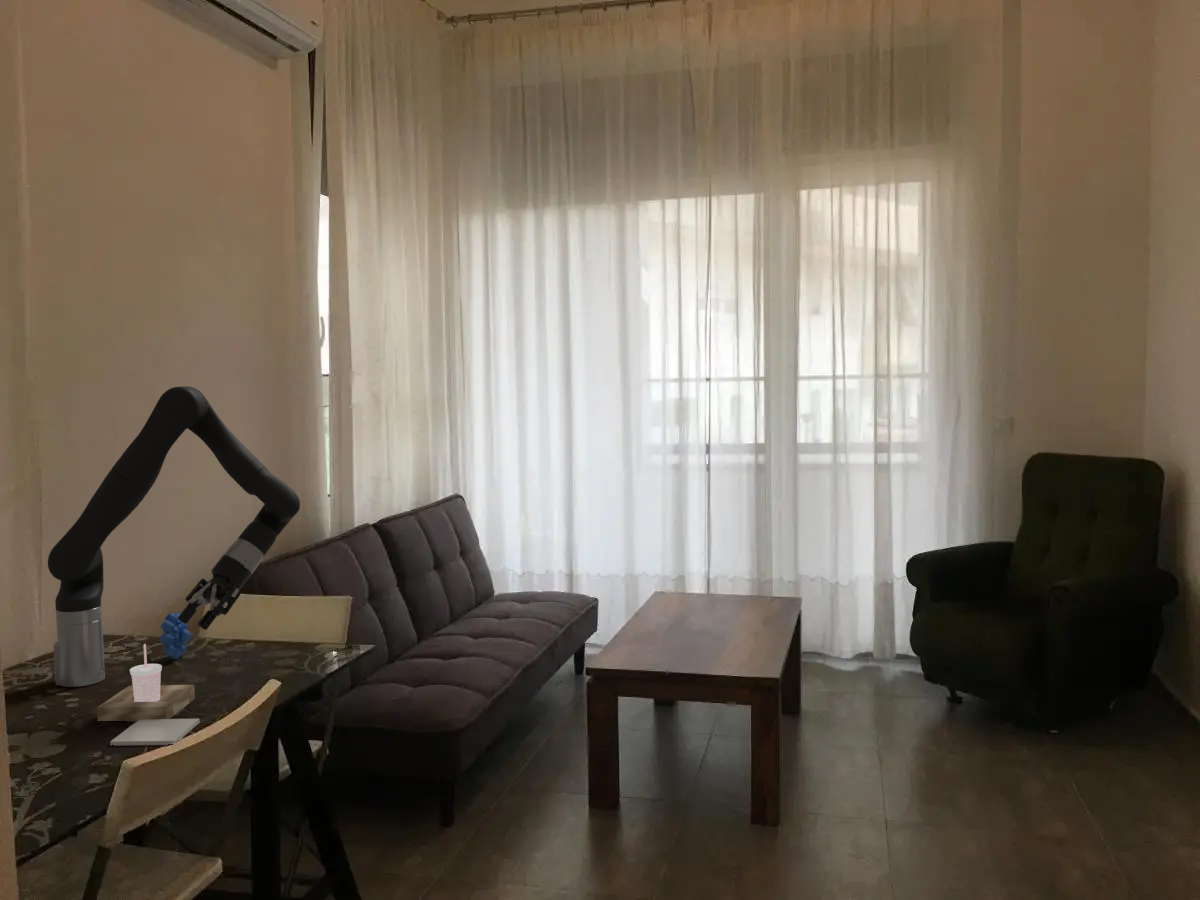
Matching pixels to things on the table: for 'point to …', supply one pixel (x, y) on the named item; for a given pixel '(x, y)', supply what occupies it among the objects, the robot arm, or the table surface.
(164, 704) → the cup holder
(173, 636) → the grapes
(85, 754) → the table surface
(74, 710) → the table surface
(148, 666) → the beverage cup
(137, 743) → the coaster
